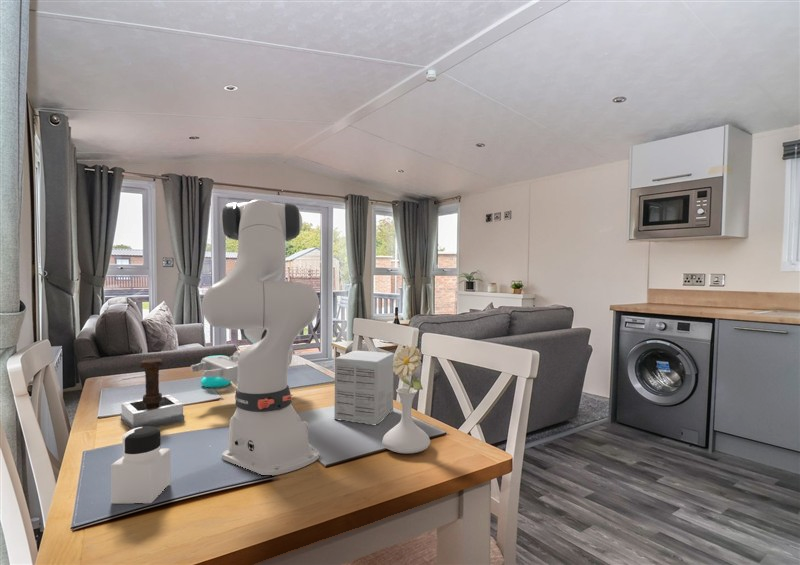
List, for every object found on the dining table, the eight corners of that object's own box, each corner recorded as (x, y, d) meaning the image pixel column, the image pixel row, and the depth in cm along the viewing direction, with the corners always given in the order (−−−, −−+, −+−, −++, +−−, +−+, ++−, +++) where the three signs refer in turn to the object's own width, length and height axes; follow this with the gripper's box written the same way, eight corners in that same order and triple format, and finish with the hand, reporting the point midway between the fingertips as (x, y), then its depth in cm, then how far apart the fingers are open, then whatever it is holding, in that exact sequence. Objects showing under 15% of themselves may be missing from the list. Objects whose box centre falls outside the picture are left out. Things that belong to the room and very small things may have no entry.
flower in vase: (375, 442, 105) (376, 340, 104) (418, 436, 109) (420, 338, 108) (394, 465, 93) (395, 349, 92) (441, 457, 97) (443, 346, 96)
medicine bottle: (171, 484, 84) (171, 423, 83) (151, 504, 77) (151, 437, 76) (133, 484, 83) (133, 423, 83) (110, 504, 76) (109, 437, 76)
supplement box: (353, 406, 133) (354, 349, 132) (393, 411, 129) (394, 352, 128) (333, 420, 120) (333, 357, 120) (376, 426, 116) (377, 361, 115)
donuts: (235, 357, 154) (206, 361, 148) (235, 385, 155) (206, 390, 148) (225, 353, 162) (196, 357, 155) (225, 380, 162) (196, 384, 155)
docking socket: (184, 421, 118) (184, 404, 118) (134, 432, 110) (134, 414, 110) (167, 408, 128) (167, 393, 128) (120, 418, 120) (120, 402, 119)
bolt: (168, 411, 121) (167, 358, 120) (156, 417, 116) (155, 362, 115) (149, 410, 122) (148, 357, 121) (136, 417, 117) (135, 362, 116)
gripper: (228, 349, 144) (184, 355, 134) (257, 359, 130) (210, 366, 120) (228, 368, 144) (184, 375, 134) (257, 380, 130) (210, 388, 120)
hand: (197, 371), depth 127 cm, fingers open, 8 cm apart
